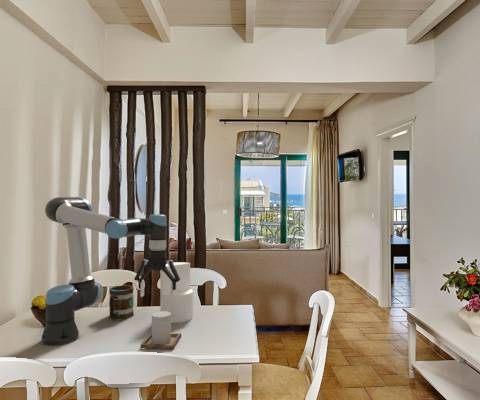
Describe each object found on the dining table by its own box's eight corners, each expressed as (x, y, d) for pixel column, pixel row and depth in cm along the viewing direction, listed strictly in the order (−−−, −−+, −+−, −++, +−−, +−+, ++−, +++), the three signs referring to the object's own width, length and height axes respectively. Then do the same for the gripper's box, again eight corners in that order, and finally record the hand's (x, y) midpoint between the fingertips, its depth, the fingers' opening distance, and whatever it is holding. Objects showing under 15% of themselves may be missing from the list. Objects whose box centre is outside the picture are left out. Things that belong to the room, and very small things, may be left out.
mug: (115, 311, 206) (115, 284, 206) (138, 312, 204) (138, 285, 204) (98, 323, 186) (98, 293, 186) (123, 323, 185) (123, 294, 185)
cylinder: (154, 317, 196) (154, 264, 196) (181, 310, 207) (181, 261, 207) (171, 325, 183) (171, 269, 183) (199, 317, 194) (199, 265, 195)
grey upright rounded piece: (166, 345, 155) (166, 317, 155) (148, 344, 157) (148, 316, 157) (173, 338, 163) (173, 311, 163) (156, 337, 165) (156, 310, 165)
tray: (140, 348, 154) (140, 344, 154) (151, 336, 168) (151, 332, 168) (173, 349, 152) (173, 345, 153) (181, 337, 166) (181, 333, 166)
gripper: (127, 249, 160) (126, 297, 160) (183, 251, 157) (182, 300, 158) (133, 247, 167) (133, 293, 167) (187, 248, 165) (186, 295, 165)
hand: (157, 296), depth 162 cm, fingers open, 13 cm apart
